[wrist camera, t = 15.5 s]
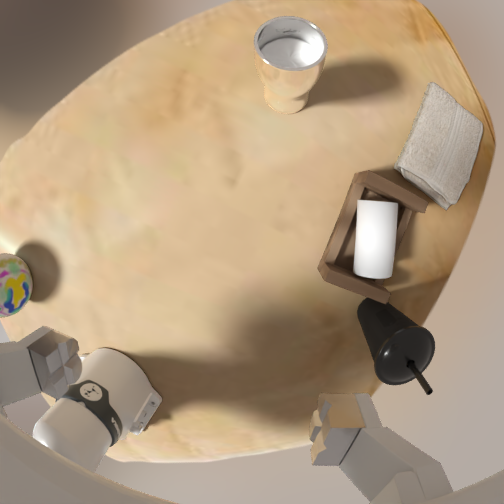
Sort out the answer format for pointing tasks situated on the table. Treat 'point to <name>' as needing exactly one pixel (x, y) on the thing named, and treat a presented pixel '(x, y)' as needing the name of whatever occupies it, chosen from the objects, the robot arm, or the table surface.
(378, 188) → the cradle
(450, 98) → the washcloth
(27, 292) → the decorative egg
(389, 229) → the roll
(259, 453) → the table surface
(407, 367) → the drinking cup
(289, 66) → the silver tumbler
